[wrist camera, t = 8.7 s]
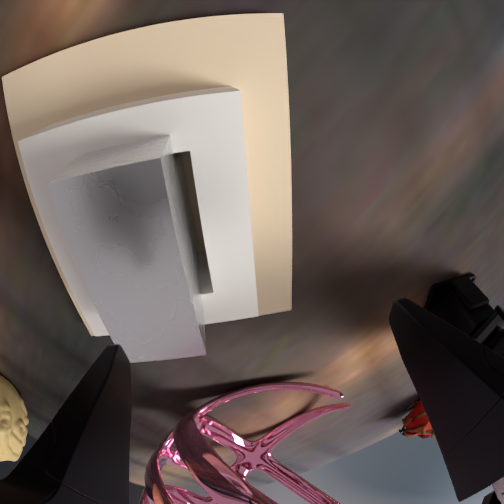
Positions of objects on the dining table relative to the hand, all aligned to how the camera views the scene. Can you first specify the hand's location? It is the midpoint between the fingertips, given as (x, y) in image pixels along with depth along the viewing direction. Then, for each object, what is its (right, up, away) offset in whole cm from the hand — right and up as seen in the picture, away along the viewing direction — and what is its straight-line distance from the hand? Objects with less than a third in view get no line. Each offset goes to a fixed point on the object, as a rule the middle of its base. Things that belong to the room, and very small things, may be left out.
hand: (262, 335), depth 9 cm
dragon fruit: (+29, -23, +35) cm, 51 cm away
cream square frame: (-6, +6, +9) cm, 12 cm away
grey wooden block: (-6, +5, +8) cm, 11 cm away
